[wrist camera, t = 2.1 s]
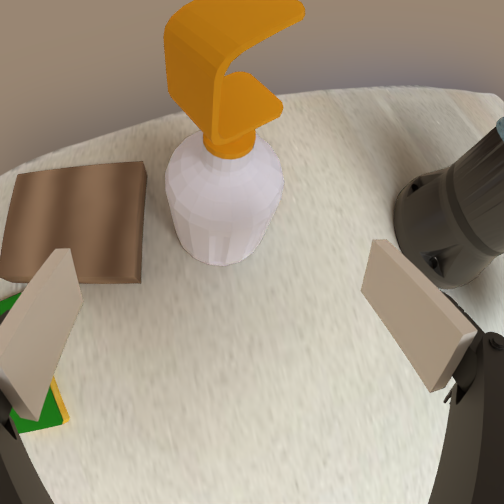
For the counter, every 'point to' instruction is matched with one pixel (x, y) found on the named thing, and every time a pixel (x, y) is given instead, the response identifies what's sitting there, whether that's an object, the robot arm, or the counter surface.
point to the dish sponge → (53, 403)
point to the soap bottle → (223, 127)
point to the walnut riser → (77, 222)
